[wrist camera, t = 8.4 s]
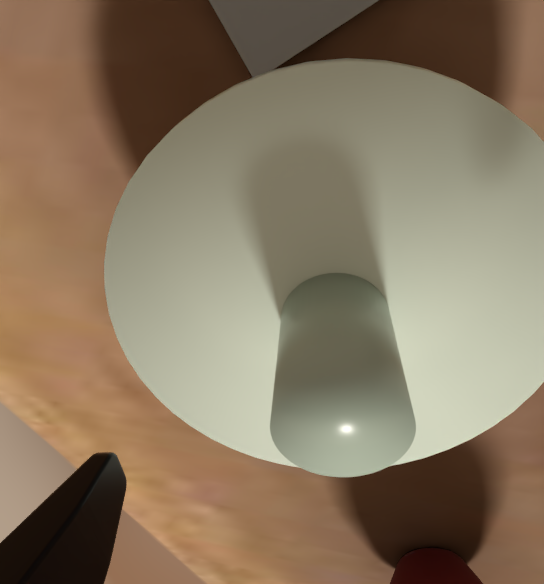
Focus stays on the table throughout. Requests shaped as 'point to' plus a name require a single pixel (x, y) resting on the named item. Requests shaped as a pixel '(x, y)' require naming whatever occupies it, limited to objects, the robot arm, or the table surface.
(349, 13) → the mat
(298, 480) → the table surface
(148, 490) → the table surface
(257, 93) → the lid
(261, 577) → the table surface
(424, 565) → the mug
